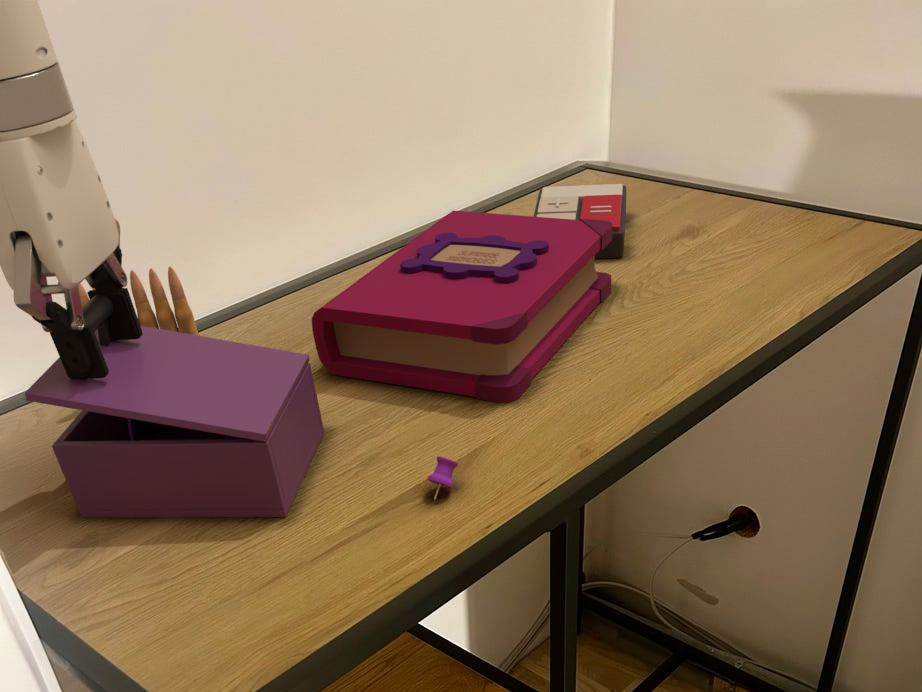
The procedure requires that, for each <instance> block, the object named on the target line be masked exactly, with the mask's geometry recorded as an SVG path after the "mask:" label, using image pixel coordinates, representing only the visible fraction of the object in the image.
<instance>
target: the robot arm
mask: <svg viewBox="0 0 922 692" xmlns="http://www.w3.org/2000/svg"><path fill="white" fill-rule="evenodd" d="M77 117H78V116H77V113H76V109H75V107H74V104H73V100H72V99H71V96H70V93H69V89H68V87H67V84H66V80H65V77H64V75H63V72H62V69H61V66H60V63H59V61H58V58H57V54H56V51H55V48H54V45H53V43H52V39H51V36H50V33H49V30H48V27H47V24H46V22H45V19H44V16H43V13H42V10H41V7H40V4H39V1H38V0H0V269H1V271H2V274H3V277H4V278H5V280H6V283H7V285H8V286H9V287H10V289H11V290H12V291H13V302H14V304H15V306H16V307H17V308H18V309H20V310H21V311H23V312H24V313H26V314H27V315H28V316H31V318H32V319H33V321H35V322H37V323H38V324H40V326H41V328H42V330H43V331H44V332H45V333H49V335H50V337H51V340H52V342H53V344H54V347H55V349H56V352H57V354H58V356H59V357H60V359H61V361H62V364H63V366H64V369H65V371H66V373H67V376H68V377H69V378H70V379H94V378H105V377H106V376H107V375H108V373H109V370H108V367H107V364H106V362H105V359H104V357H103V354H102V351H101V349H100V346H99V343H98V341H97V338H96V336H95V333H94V330H93V328H92V325H85V323H84V317H83V311H82V306H81V300H80V294H79V289H78V285H79V284H80V283H81V284H82V283H83V281H84V280H85V281H86V282H87V284H88V286H89V287H90V288H91V289H89V290H88V291H86V294H87V296H88V298H89V300H90V299H91V298H92V297H93V296H94V295H96V294H102V295H105V296H107V297H108V298H109V299H110V300H111V301H112V303H113V306H114V311H113V313H112V314H111V315H110V316H109V317H108V324H109V331H110V338H111V340H131V339H139V338H140V337H141V336H142V334H143V332H142V329H141V326H140V323H139V321H138V315H137V311H136V308H135V305H134V304H133V300H132V298H131V294H130V292H129V289H128V287H127V286H128V277H127V273H126V271H125V270H124V269H123V267H122V265H123V260H122V259H123V253H122V249H121V225H120V223H119V221H118V220H117V219H116V218H115V215H114V213H113V209H112V206H111V203H110V200H109V198H108V196H107V195H108V194H107V192H106V190H105V187H104V184H103V183H102V182H103V181H102V179H101V177H100V174H99V171H98V169H97V166H96V164H95V161H94V159H93V156H92V154H91V152H90V149H89V147H88V145H87V142H86V140H85V138H84V136H83V133H82V132H81V129H80V127H79V124H77V121H76V120H77ZM52 277H56V279H57V284H48V279H47V278H52ZM122 287H124V288H122ZM92 288H93V289H96V290H93V289H92ZM52 295H63V296H64V302H65V307H66V308H65V307H64V306H62V305H61V304H59V303H58V302H57V301H53V296H52Z"/></svg>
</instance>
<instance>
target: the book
mask: <svg viewBox="0 0 922 692" xmlns="http://www.w3.org/2000/svg"><path fill="white" fill-rule="evenodd" d="M611 241H612V222H609V221H606V220H592V219H579V220H573V219H559V218H546V217H534V215H532V216H531V215H517V214H505V213H493V212H492V213H490V212H480V211H479V212H477V211H464V210H452V211H450V212H449V213H447V214H446V215H445V216H443V217H442V218H440V219H439V220H438V221H436V222H435V223H433V225H431V226H430V227H428V228H427V229H426V230H424V231H423V232H421V233H420V234H419V235H418V236H416V237H415V238H413V239H412V240H410V241H409V242H408V243H406V244H405V245H404V246H402V247H401V248H400V249H398V250H397V251H395V252H394V253H393V254H392V255H390V256H389V257H388V258H386V259H385V260H384V261H382V262H380V263H379V264H378V265H377V266H375V267H374V268H373V269H371V270H370V271H369V272H367V273H366V274H364V275H363V276H361V277H360V278H358V280H356V281H355V282H353V283H352V284H351V285H349V286H348V287H346V289H344V290H343V291H341V292H340V293H339V294H337V295H336V296H334V297H333V298H332V299H330V300H329V301H327V302H326V303H324V305H322V306H320V307H319V308H318V309H317V310H315V311H314V313H313V315H312V317H311V330H312V335H313V340H314V345H315V349H316V353H317V355H318V360H319V362H320V363H321V365H322V366H323V367H324V368H325V370H327V371H329V373H331V374H332V375H334V376H339V377H347V378H353V379H360V380H366V381H372V382H378V383H385V384H392V385H397V386H405V387H410V388H418V389H424V390H430V391H437V392H444V393H450V394H456V395H462V396H463V395H464V396H469V397H476V400H483V401H489V402H495V403H511V402H514V401H516V400H519V399H520V398H521V396H522V395H523V394H524V393H525V392H526V391H527V390H528V389H529V387H530V386H531V385H532V379H533V378H534V377H535V376H537V374H538V373H539V372H540V371H541V369H542V368H543V367H544V366H545V365H546V364H547V363H548V362H549V361H550V359H551V358H552V357H553V356H554V355H555V354H556V353H557V352H558V350H559V349H560V348H561V347H562V346H563V345H564V343H566V341H567V340H568V339H569V338H570V337H571V336H572V334H573V333H574V332H575V331H576V330H577V329H578V328H579V327H580V326H581V324H582V323H583V322H584V321H585V320H586V319H587V318H588V316H589V315H590V314H592V312H593V311H594V310H595V309H596V308H597V306H598V305H599V304H602V303H603V302H604V301H605V300H606V298H608V296H609V295H610V294H611V293H612V274H610V273H607V272H603V271H597V270H596V268H595V264H596V263H595V262H596V261H595V255H596V254H597V252H598V251H602V250H603V249H604V248H605V247H606V246H607V245H608V244H609V243H610V242H611Z"/></svg>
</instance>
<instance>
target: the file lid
mask: <svg viewBox="0 0 922 692" xmlns="http://www.w3.org/2000/svg"><path fill="white" fill-rule="evenodd" d="M82 311H83V317H84V323H85V325H92V328H93V330H94V333H95V336H96V338H97V341H98V343H99V346H100V349H101V351H102V354H103V357H104V359H105V362H106V364H107V367H108V370H109V373H108V375H107V376H106V377H105V378H94V379H70V378H69V377H68V376H67V373H66V371H65V369H64V366H63V364H62V361H61V359H60V356H59V357H58V358H57V359H56V360H55V361H54V362H53V363H52V364H51V365H50V366H49V367H48V368H47V369H46V370H45V371H44V372H43V373H42V375H40V376H39V378H37V379H36V380H35V381H34V383H32V384H31V386H30V387H28V389H27V390H26V391H25V392H24V396H25V400H26V401H27V402H32V403H37V404H38V403H39V404H43V405H49V406H55V407H62V408H65V409H66V408H68V409H72V410H73V409H74V410H79V411H82V410H84V411H90V412H95V413H101V414H107V415H113V416H119V417H124V418H130V419H136V420H142V421H147V422H153V423H159V424H165V425H171V426H176V427H182V428H188V429H194V430H200V431H205V432H211V433H217V434H223V435H228V436H234V437H240V438H246V439H252V440H257V441H263V442H266V440H267V439H268V437H269V435H270V433H271V431H272V429H273V427H274V426H275V424H276V422H277V420H278V418H279V416H280V414H281V413H282V411H283V409H284V407H285V405H286V403H287V402H288V400H289V398H290V396H291V394H292V392H293V390H294V389H295V387H296V385H297V383H298V381H299V379H300V378H301V376H302V374H303V372H304V370H305V368H306V366H307V365H308V363H310V355H309V354H307V353H301V352H295V351H290V350H284V349H277V348H272V347H267V346H266V347H265V346H261V345H256V344H255V345H254V344H248V343H243V342H237V341H233V340H226V339H220V338H215V337H209V336H203V335H200V336H198V335H192V334H186V333H180V332H174V331H169V330H163V329H160V328H159V329H157V328H151V327H146V326H141V329H142V332H143V334H142V336H141V337H140V338H139V339H131V340H111V338H110V331H109V324H108V317H109V316H110V315H111V314H112V313H113V311H114V306H113V303H112V301H111V300H110V299H109V298H108V297H107V296H105V295H102V294H96V295H94V296H93V297H92V298H91V299H89V301H88V302H87V303H86V304H85V305H84V306H83V307H82Z"/></svg>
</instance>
